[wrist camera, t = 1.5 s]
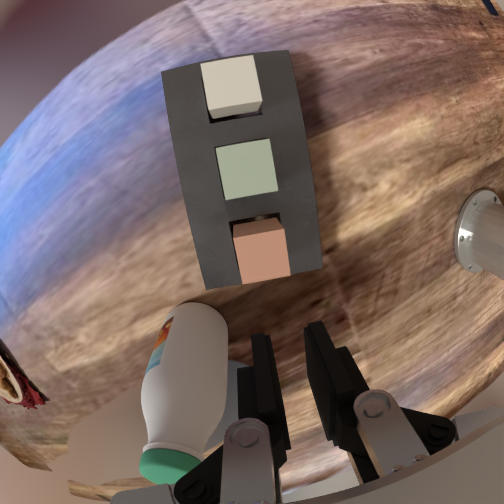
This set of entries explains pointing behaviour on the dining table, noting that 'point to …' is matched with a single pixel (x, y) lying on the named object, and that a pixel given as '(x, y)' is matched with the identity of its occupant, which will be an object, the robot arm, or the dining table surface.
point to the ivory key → (231, 86)
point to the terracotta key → (261, 250)
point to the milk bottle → (183, 391)
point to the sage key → (247, 169)
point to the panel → (235, 132)
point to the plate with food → (16, 387)
